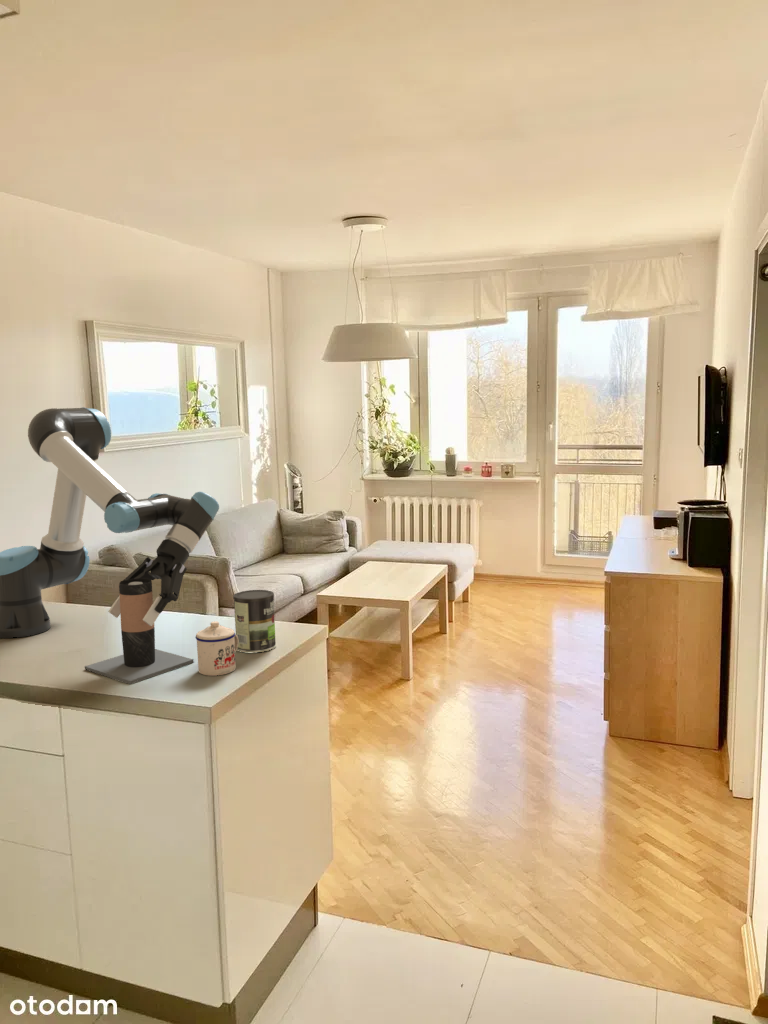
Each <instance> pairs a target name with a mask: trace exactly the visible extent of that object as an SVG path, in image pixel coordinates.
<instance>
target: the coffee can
mask: <svg viewBox="0 0 768 1024" xmlns="http://www.w3.org/2000/svg"><path fill="white" fill-rule="evenodd" d="M232 598H233V604H234V607H233V608H234V622H235V623H234V626H235V627H234V628H235V635H237V636H238V639H239V644H238V648H237V650H239V651H241V652H240V653H242V652H262V653H265V652H264V651H267V652H270V651H272V650H274V649H275V648H276V647H277V644H276V622H275V621H276V619H275V593H274V591H272V590H269V589H268V590H267V589H250V590H244V591H239V592H236V593H234V594H233V596H232ZM273 648H274V649H273ZM271 649H272V650H271ZM237 650H236V651H237ZM269 650H270V651H269ZM239 651H238V652H239Z"/></svg>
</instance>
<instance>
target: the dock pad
mask: <svg viewBox="0 0 768 1024" xmlns="http://www.w3.org/2000/svg"><path fill="white" fill-rule="evenodd" d="M191 664H194V658H190V657H186V656H183V655H179V654H175V653H172V652H168V651H163V650H161V649H156V648H155V662H154V663H153V664H151V665H148V666H144V667H128V666H126V665H125V664H124V655H123V654H120V655H117V656H114V657H110V658H108V659H104V660H101V661H97V662H95V663H94V662H93V663H90V664H89V665H85V666H84V670H85V669H87V670H86V671H88V670H90V671H89V672H91V671H92V672H91V673H94V672H95V673H94V674H97V673H98V674H97V675H100V674H101V676H103V675H104V677H106V676H107V678H109V677H110V679H112V678H113V680H115V679H116V681H118V680H119V681H118V682H121V681H122V682H121V683H124V682H125V684H127V683H128V685H133V684H135V683H138V682H141V681H144V680H147V679H149V678H153V677H155V676H158V675H161V674H164V673H167V672H169V671H174V670H176V669H179V668H181V667H184V666H187V665H191ZM132 683H133V684H132Z"/></svg>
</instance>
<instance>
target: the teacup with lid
mask: <svg viewBox="0 0 768 1024" xmlns="http://www.w3.org/2000/svg"><path fill="white" fill-rule="evenodd" d="M195 639H196V650H197V668H198V672H199V674H201V675H204V676H209V677H210V676H211V677H215V676H216V677H217V675H218V676H222V675H227V674H230V673H232V672H234V671H235V670H236V664H237V663H236V651H237V648H238V644H239V639H238V636H237V635H236V632H235V631H234V629H232V628H230V627H225V626H223V625H222V624H221V625H220V622H219V621H215V620H214V621H211V622H210V623H209V626H207V627H205V628H203V629H201V630H199V631H197V633H196V634H195Z"/></svg>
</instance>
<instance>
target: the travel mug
mask: <svg viewBox="0 0 768 1024" xmlns="http://www.w3.org/2000/svg"><path fill="white" fill-rule="evenodd" d="M118 593H119V594H118V596H119V595H120V615H119V617H120V630H121V631H120V632H121V644H122V652H123V653H122V655H124V664H125V665H126V666H128V667H144V666H148V665H151V664H153V663H154V662H155V649H156V639H155V638H156V636H155V635H156V633H155V623H154V624H153V625H152V626H149V625H148V624H147V623H146V622H145V621H143V618H144V616H145V615H146V613H147V612H148V610H149V609H150V607H151V606H152V604H153V603H154V597H153V596H154V595H153V580H150V579H146V578H135V579H127V580H124V579H123V580H121V581H120V582H119V584H118Z"/></svg>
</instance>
